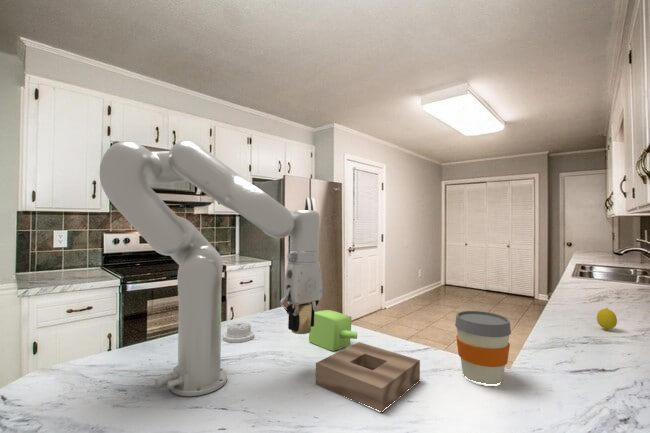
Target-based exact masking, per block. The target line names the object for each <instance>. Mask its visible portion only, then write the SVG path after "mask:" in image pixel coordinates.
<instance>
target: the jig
mask: <svg viewBox="0 0 650 433" xmlns="http://www.w3.org/2000/svg"><path fill="white" fill-rule="evenodd" d="M419 380H420V381H421V360H420V359H417V358H413V357H412V356H411V357H410V356H408V355H403V354H400V353H397V352H394V351H390V350H387V349H384V348H380V347H377V346H374V345H370V344H366V343H364V342H362V341H361V342H360V341H358V342H355V343H354V344H352V345H349V346H347V347H344V348H342V350H340V351H337V352H335V353H333V354H331V355H329V356H328V357H325V358H323V359H321V360H319V361H317V362H315V385H317V386H319V387H321V388H324V389H326V390H328V391H330V392H333V393H335V394H337V395H339V396H341V395H342V397H343V396H345V397H344V398H346V397H347V398H346V399H348V398H349V399H348V400H350V399H352V400H355V401H357V402H360V403H362V404H365V405H367V406H370V407H372V408H374V409H377V410H379V411H381V412H382V411H383V410H384V409H385V408H386V407H388V406H389V405H390V404H392V403H393V402H394V401H396V400H397V399H398V398H399V397H400V396H402V395H403V394H404V393H405V392H406V391H407V390H408V389H410V388H411V387H412V386H413V385H414V384H416V383H417V382H418V381H419ZM420 381H419V382H420ZM419 382H418V383H419ZM418 383H417V384H418ZM417 384H416V385H417ZM414 386H415V385H414ZM414 386H413V387H414ZM413 387H412V388H413ZM412 388H411V389H412ZM411 389H410V390H411ZM407 392H408V391H407ZM407 392H406V393H407ZM406 393H405V394H406ZM405 394H404V395H405ZM404 395H403V396H404ZM403 396H402V397H403ZM400 398H401V397H400ZM400 398H399V399H400ZM399 399H398V400H399ZM352 400H351V401H352ZM398 400H397V401H398ZM355 401H354V402H355ZM397 401H396V402H397ZM357 402H356V403H357ZM393 404H394V403H393ZM393 404H392V405H393Z"/></svg>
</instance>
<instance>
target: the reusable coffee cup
mask: <svg viewBox="0 0 650 433" xmlns="http://www.w3.org/2000/svg"><path fill="white" fill-rule="evenodd" d="M510 321H511V320H510V319H509V318H507V317H506V316H504V315H501V314H498V313H493V312H487V311H483V310H481V311H480V310H463V311H459V312H457V313H456V316H455V325H454V326H455V328H456V332H457V335H456V337H455V338H456V346H457V352H458V357H460V363H461V371H462V375H463V374H464V376H466V377H467V378H468V379H470V380H473V381H476V382H481V383H486V384H497V383H500V382H502V381H503V382H504V374H505V369H506V368H505V366H506V365H507V364H508V362H509V361H508V360H509V354H510V346H511V344H510V342H509V339H510V335H512V330H511V322H510ZM464 376H463V377H464ZM503 382H502V383H503Z"/></svg>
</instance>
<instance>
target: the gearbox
mask: <svg viewBox="0 0 650 433" xmlns="http://www.w3.org/2000/svg"><path fill="white" fill-rule="evenodd" d="M352 339H353V340H357V339H358V331H356V330H355V331H354V330H352V316H351V315H348V314H345V313H342V312H338V311H334V310H330V309H324V310H317V311H315V312H314V326H313V327H311V332H310V333H308V342H310V343H312V344H314V345H317V346H319V347H321V348H323V349H326V350H329V351H331V352H332V351H338V350H340V349H344V348H346V347H348V346H350V345H351V340H352ZM349 344H350V345H349ZM347 345H348V346H347Z"/></svg>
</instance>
